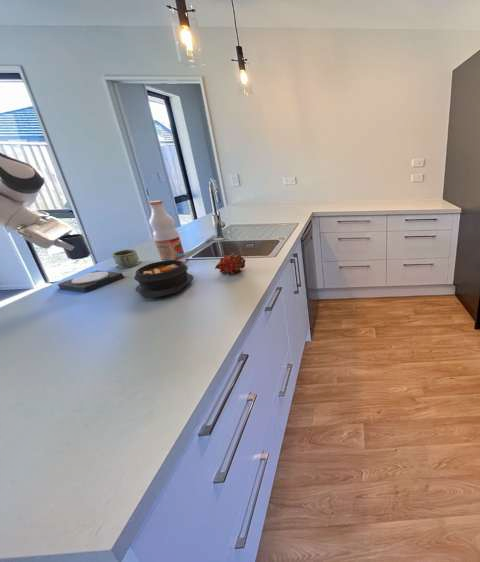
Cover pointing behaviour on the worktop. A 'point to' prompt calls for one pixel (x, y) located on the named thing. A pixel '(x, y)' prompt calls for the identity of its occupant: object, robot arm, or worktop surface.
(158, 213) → the fruit juice
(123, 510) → the worktop surface
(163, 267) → the casserole
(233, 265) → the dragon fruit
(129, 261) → the vessel
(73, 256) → the dark blue cup
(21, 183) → the robot arm
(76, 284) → the scale
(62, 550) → the worktop surface
